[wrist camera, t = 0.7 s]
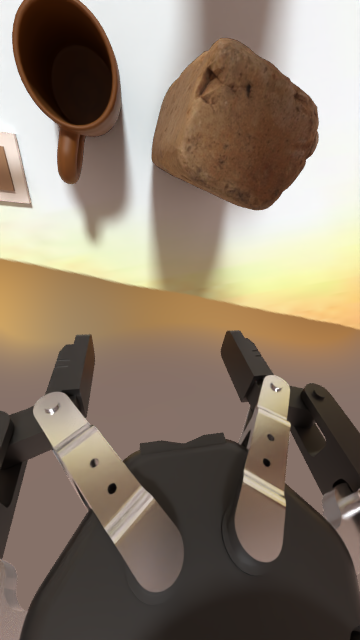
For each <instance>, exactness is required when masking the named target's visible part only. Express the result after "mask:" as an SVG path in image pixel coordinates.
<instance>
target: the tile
mask: <svg viewBox="0 0 360 640" xmlns="http://www.w3.org/2000/svg"><path fill="white" fill-rule="evenodd" d="M0 201H9V202H19V203H28V204H30V203H31V200H30V196H29V192H28V187H27V183H26V178H25V174H24V169H23V165H22V161H21V156H20V152H19V147H18V143H17V139H16V134H12V133H6V132H0Z"/></svg>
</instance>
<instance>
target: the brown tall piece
mask: <svg viewBox="0 0 360 640" xmlns="http://www.w3.org/2000/svg"><path fill="white" fill-rule="evenodd" d="M318 125H319V120H318V113H317V106H316V105H315V104H314V102H313V101H312V99H311V98H310V96H308V95H307V94H306V93H305V92H304V91H303V90H301V89H300V88H299V87H298V86H296V85H295V84H293V83H292V82H291V81H290V78H288V77H286V76H285V75H283V74H282V73H281V72H280V71H279V70H278V69H277V68H276V67H275V66H274V65H273V64H272V63H270V62H269V61H267V60H265V59H262V58H261V57H259V56H258V55H256V54H255V53H254V52H253V51H252V50H251V49H249V48H248V47H247V46H245V45H244V44H242V43H241V42H239V41H237V40H234V39H229V38H220V39H219V40H218V41H216V42H215V43H214V44H213V45H212V47H211V48H210V50H209V51H205V52H203V53H202V55H200V56H199V57H197V58H196V59H195V60H194V61H193V62H192V63H191V64H190V65H189V66H188V67H187V68H186V69H185V70H184V71H183V72H182V73H181V75H180V77H179V78H178V79H177V80H176V81H175V82H174V83H173V84H172V85H171V86H170V88H169V90H168V91H167V93H166V95H165V97H164V100H163V103H162V105H161V109H160V113H159V117H158V121H157V125H156V129H155V134H154V138H153V145H152V156H151V157H152V161H153V163H154V164H155V165H156V166H157V167H159V168H161V169H162V170H164V171H166V172H167V173H169V174H170V175H172V176H175V177H177V178H179V179H181V180H183V181H186V182H188V183H190V184H192V185H194V186H196V187H198V188H200V189H203V190H205V191H207V192H209V193H211V194H213V195H215V196H217V197H220V198H222V199H224V200H226V201H228V202H230V203H233V204H235V205H238V206H241V207H244V208H248V209H252V210H264V209H267V208H268V207H270V206H271V205H272V204H273V203H274V202H275V201H276V200H277V199H278V198H279V197H280V195H281V194H282V192H283V191H284V190H286V189H287V188H288V187H289V186H290V185H291V184H292V183H293V182H294V181H295V179H296V178H297V176H298V175H299V174H300V172H301V171H302V170H303V168H304V166H305V163H306V159H307V158H309V157H310V156H311V155H312V154H313V152H314V151H315V149H316V146H317V143H318V132H317V129H318Z"/></svg>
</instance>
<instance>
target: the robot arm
mask: <svg viewBox="0 0 360 640" xmlns="http://www.w3.org/2000/svg"><path fill="white" fill-rule="evenodd" d="M221 356H222V359H223V361H224V364H225V366H226V368H227V371H228V373H229V375H230V377H231V380H232V382H233V384H234V387H235V389H236V391H237V393H238V396H239V398H240V400H241V402H249V404H250V407H249V409H248V412H247V416H246V420H245V423H244V427H243V430H242V434H241V437H240V439H239V442H238V443H236V442H234V441H231V440H228V439H225V437H224V434H223V433H216V434H208V435H203V436H201V437H199V438H196V439H194V440H192V441H190V442H187V443H184V444H183V443H182V444H181V443H175V442H168V441H156V442H148V443H140V450H139V451H136V452H134V453H133V454H131V455H129V456H128V457H127V458H126V459H124V460H123V461H122V460H121V459H120V458H119V456H118V455H117V454H116V453H115V451H114V450H113V449H112V447H111V446H110V445H109V444H108V442H107V441H106V440H105V439H104V437H103V436H102V435H101V433H100V432H99V431H98V429H97V428H95V426H93V425H90V424H89V423H88V422H87V421H86V419H85V418H86V417H87V411H88V404H89V398H90V391H91V385H92V377H93V371H94V365H95V354H94V347H93V341H92V336H91V335H90V334H89V335H76V337H75V341H74V344H72V345H66V346H64V347H63V349H62V350H61V351H60V352H59V355H58V358H57V362H56V364H55V368H54V370H53V373H52V376H51V379H50V382H49V385H48V388H47V391H46V394H45V395H44V396H43V397H42V398H40V399H39V400H38V401H37V402H36V404H35V405H34V406H32V407H30V408H28V409H26V410H23V411H20V412H17V413H15V414H11V415H8V414H7V413H5V412H3V411H0V640H360V591H359V586H358V581H357V576H356V574H359V573H360V433H359V432H358V430H357V429H356V428H355V426H354V425H353V424H352V422H351V421H350V419H349V418H348V417H347V415H346V414H345V413H344V411H343V410H342V409H341V407H340V406H339V405H338V403H337V402H336V401H335V399H334V398H333V397H332V395H331V394H330V393H329V392H328V391H327V390H326V389H325V388H323V387H321V386H320V385H317V384H313V383H312V384H311V383H310V384H307V385H306V386H305V388H304V389H302V388H297V387H292V386H289V385H288V384H287V382H286V381H284V380H283V379H281V378H280V377H277V376H275V375H273V373H272V371H271V370H270V368H269V367H268V365H267V363H266V362H265V361H264V359H263V357H261V354H260V352H259V351H258V349H257V348H256V346H255V344H254V343H253V342H251V341H250V340H249V339H248V338H244V336H243V335H242V333H241V331H239V330H238V331H227V332H226V335H225V338H224V341H223V344H222V348H221ZM315 423H317V425H318V426H319V428H320V429H321V431H322V433H323V434H324V436H325V438H326V441H325V439H324V438H323V436H322V434H321V433H320V431H319V429H318V428H317V426H316V424H315ZM290 431H291V433H292V435H293V437H294V439H295V441H296V443H297V445H298V447H299V449H300V451H301V453H302V455H303V457H304V459H305V461H306V463H307V465H308V467H309V469H310V471H311V473H312V475H313V477H314V479H315V480H316V482H317V485H318V487H319V488H320V490H321V492H322V494H323V499H322V506H323V510H324V511H323V516H324V517H323V516H322V515H321V514H320V513H318V512H317V511H316V510H315V509H314V508H313V507H312V506H311V505H309V504H308V503H307V502H306V501H305V500H304V499H303V498H301V497H300V496H299V495H298V494H297V493H296V492H295V491H294V490H292V489H291V488H290V487H289V486H288V485H287V484H286V483H285V477H286V466H287V457H288V446H289V436H290ZM49 450H52V452H53V453H54V455H55V456H56V458H57V460H58V461H59V463H60V465H61V466H62V468H63V470H64V471H65V473H66V475H67V476H68V478H69V480H70V482H71V483H72V485H73V487H74V489H75V491H76V492H77V494H78V496H79V497H80V499H81V501H82V502H83V504H84V506H85V507H86V509H87V511H88V513H87V514H86V516H85V517H84V519H83V520H82V522H81V524H80V525H79V527H78V528H77V530H76V532H75V533H74V534H73V536H72V538H71V539H70V541H69V542H68V544H67V545H66V547H65V549H64V550H63V552H62V553H61V555H60V556H59V558H58V559H57V561H56V562H55V564H54V566H53V567H52V569H51V570H50V572H49V573H48V575H47V576H46V578H45V579H44V581H43V583H42V584H41V586H40V587H39V589H38V591H37V593H36V594H35V596H34V598H33V600H32V602H31V604H30V607H29V609H28V610H24V609H22V608H21V606H20V605H19V603H18V601H17V596H16V587H17V573H16V570H15V568H14V566H13V565H12V564H10V563H9V562H6V561H4V560H2V558H3V554H4V550H5V546H6V542H7V538H8V534H9V531H10V526H11V523H12V519H13V515H14V511H15V507H16V503H17V500H18V496H19V492H20V488H21V484H22V480H23V476H24V472H25V468H26V465H27V461H28V459H31V458H33V457H35V456H37V455H40V454H42V453H44V452H46V451H49Z"/></svg>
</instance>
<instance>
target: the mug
mask: <svg viewBox="0 0 360 640" xmlns="http://www.w3.org/2000/svg"><path fill="white" fill-rule="evenodd" d="M12 44H13V53H14V58H15V62H16V66H17V69H18V72H19V75H20V77H21V80H22V82H23V84H24V86H25V88H26V90H27V91H28V93H29V95H30V96H31V98H32V99H33V101H34V102H35V103H36V105H37V106H38V107H39V108H40V109H41V110H42V111H43V112H44V113H45V114H46V115H47V116H48V117H49V118H50V119H52V120H53V121H54V122H55V123H57V124H58V125H59V127H60V128H59V141H58V151H57V164H58V172H59V175H60V177H61V179H62V180H63V181H64V182H66V183H67V184H75V183H76V182H77V181H78V180H79V177H80V173H81V168H82V161H83V150H84V141H85V137H86V136H90V137H96V136H100V135H103V134H105V133H107V132H108V131H109V130H111V128H112V127H113V126H114V125H115V123H116V121H117V119H118V117H119V113H120V109H121V85H120V76H119V70H118V65H117V61H116V58H115V55H114V52H113V50H112V47H111V45H110V42H109V40H108V37H107V35H106V33H105V31H104V29H103V28H102V26H101V25H100V23H99V21H98V20H97V19H96V17H95V16H94V15H93V13H92V12H91V11H90V10H89V9H88V8H87V7H86V6H85V5H84V4H83V3H82V2H80V1H79V0H24V1H23V2H22V3H21V5H20V7H19V8H18V11H17V13H16V15H15V20H14V24H13V32H12Z"/></svg>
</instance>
